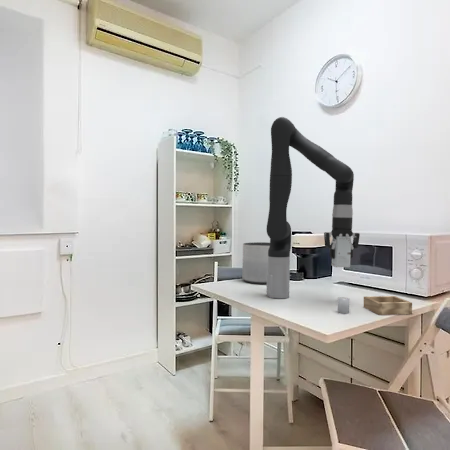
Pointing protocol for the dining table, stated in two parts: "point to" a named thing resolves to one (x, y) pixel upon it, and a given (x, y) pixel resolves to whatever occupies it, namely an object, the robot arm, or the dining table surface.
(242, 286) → the dining table surface
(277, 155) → the robot arm
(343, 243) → the skincare box
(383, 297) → the oak collar
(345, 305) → the grey stub
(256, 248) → the planter
